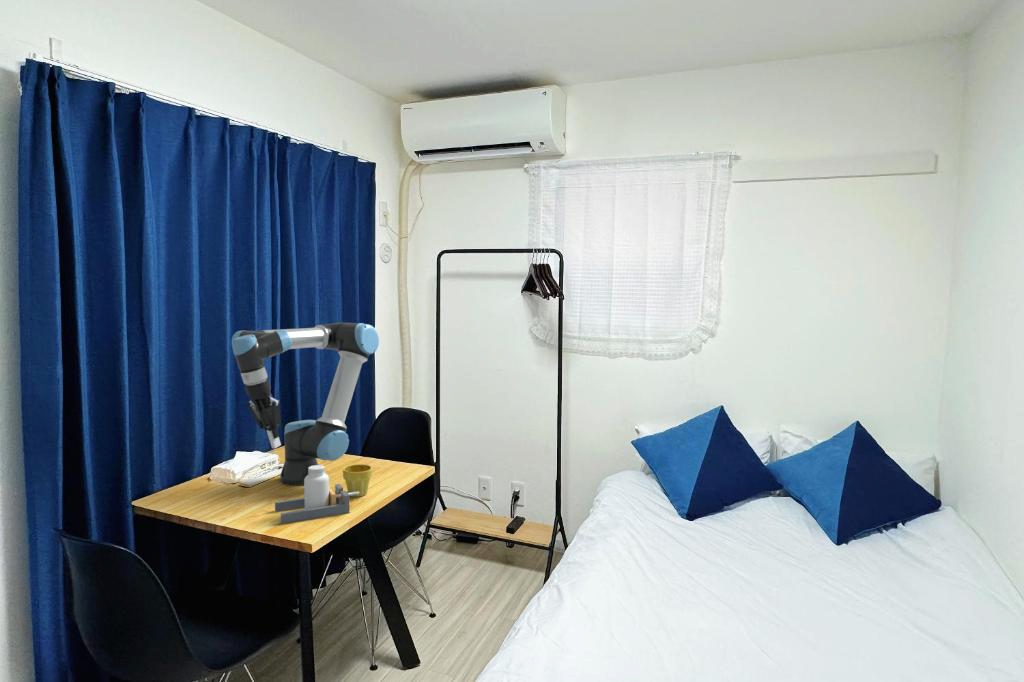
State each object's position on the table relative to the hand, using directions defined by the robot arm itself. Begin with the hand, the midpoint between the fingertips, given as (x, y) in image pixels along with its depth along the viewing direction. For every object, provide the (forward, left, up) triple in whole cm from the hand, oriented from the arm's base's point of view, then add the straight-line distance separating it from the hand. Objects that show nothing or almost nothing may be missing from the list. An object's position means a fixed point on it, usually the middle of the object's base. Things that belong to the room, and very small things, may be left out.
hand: (276, 446), depth 200 cm
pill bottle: (+15, 0, -21) cm, 26 cm away
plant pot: (+21, +18, -21) cm, 35 cm away
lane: (+13, -2, -21) cm, 25 cm away
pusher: (+22, +5, -21) cm, 31 cm away
